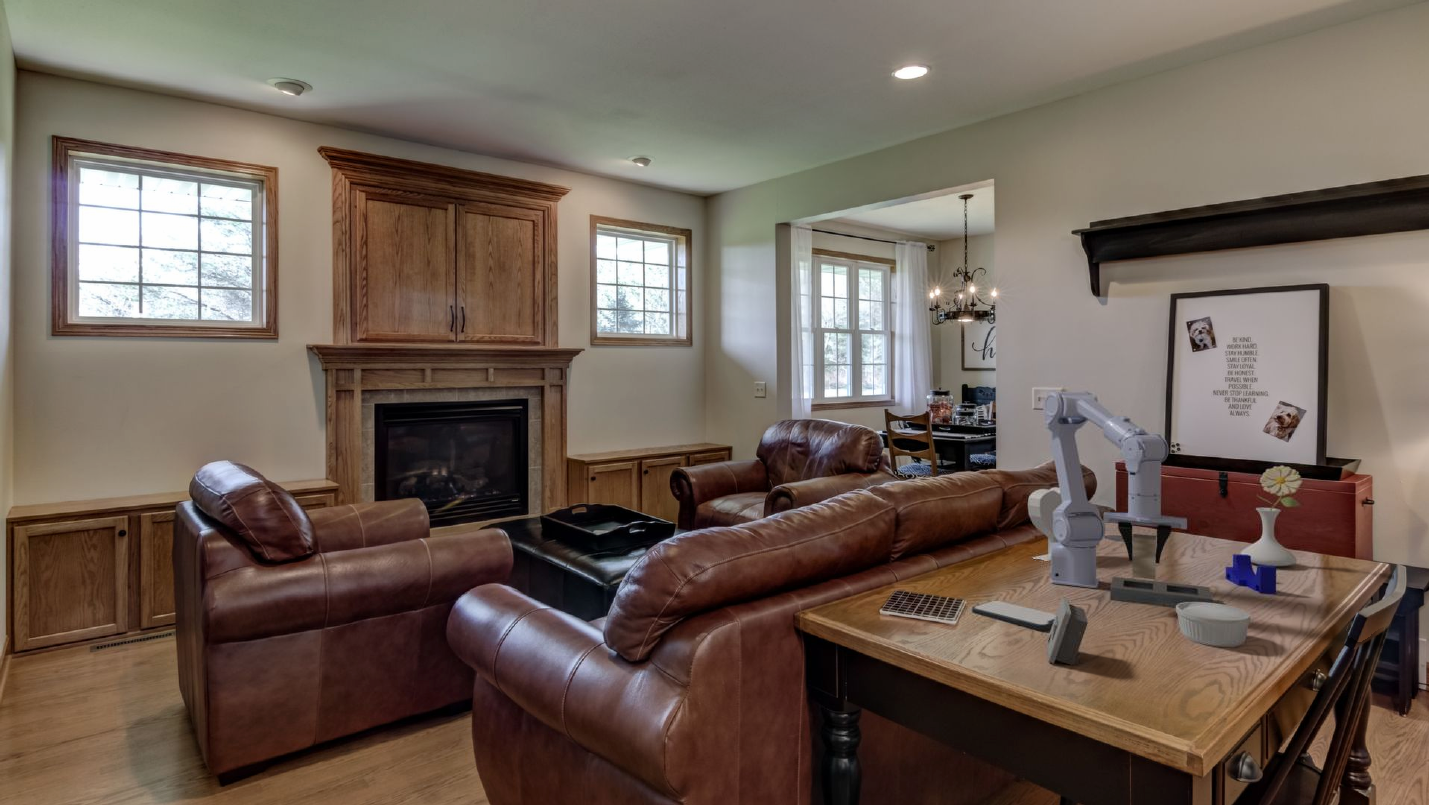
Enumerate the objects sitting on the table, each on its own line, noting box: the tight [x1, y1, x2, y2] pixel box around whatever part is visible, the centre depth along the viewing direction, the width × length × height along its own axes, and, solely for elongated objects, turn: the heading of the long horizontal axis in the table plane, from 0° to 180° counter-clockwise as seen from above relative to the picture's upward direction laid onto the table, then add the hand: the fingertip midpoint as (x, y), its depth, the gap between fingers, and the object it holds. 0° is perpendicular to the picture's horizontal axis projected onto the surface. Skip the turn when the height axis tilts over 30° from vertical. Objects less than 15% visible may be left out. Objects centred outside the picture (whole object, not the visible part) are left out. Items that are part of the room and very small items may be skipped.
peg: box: [1131, 533, 1157, 580], centre depth 151 cm, size 4×4×8 cm
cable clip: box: [1225, 553, 1277, 595], centre depth 167 cm, size 12×4×6 cm, turn 169°
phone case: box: [971, 600, 1056, 633], centre depth 147 cm, size 9×2×16 cm
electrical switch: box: [1046, 597, 1089, 666], centre depth 126 cm, size 9×5×9 cm, turn 158°
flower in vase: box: [1240, 465, 1303, 567], centre depth 185 cm, size 13×11×25 cm
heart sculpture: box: [1027, 486, 1077, 561], centre depth 196 cm, size 16×5×18 cm, turn 119°
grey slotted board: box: [1110, 576, 1213, 608], centre depth 158 cm, size 18×10×2 cm, turn 59°
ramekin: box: [1175, 602, 1251, 648], centre depth 134 cm, size 11×11×5 cm
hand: (1144, 561), depth 151 cm, fingers closed on peg, 4 cm apart
